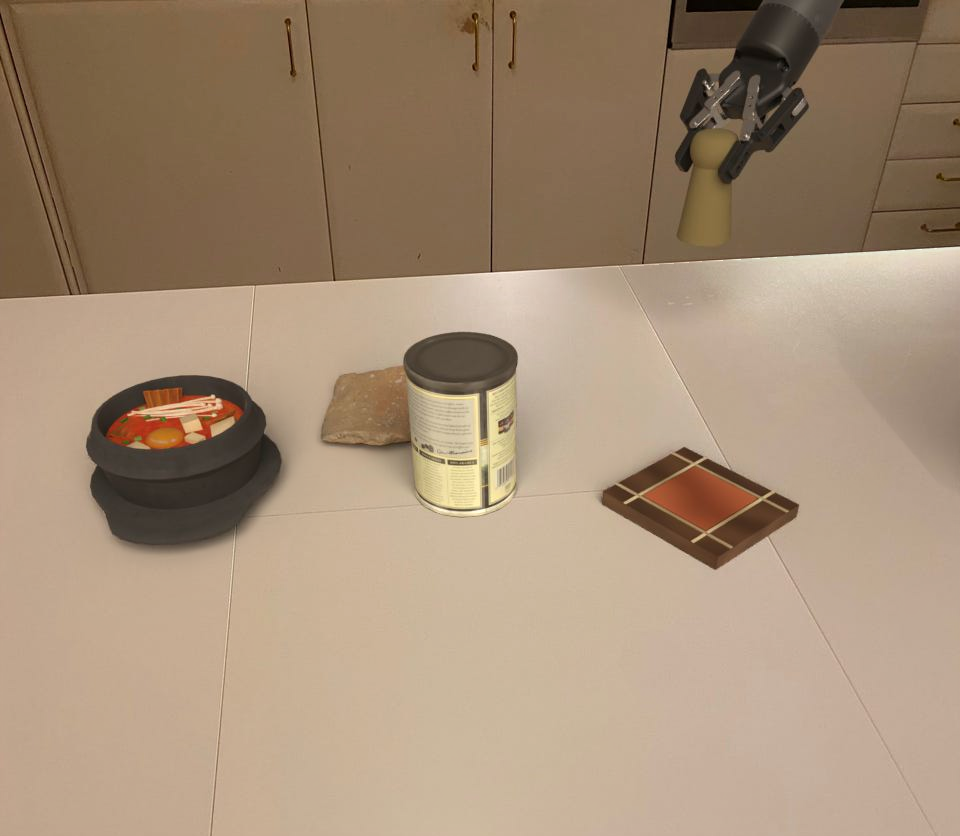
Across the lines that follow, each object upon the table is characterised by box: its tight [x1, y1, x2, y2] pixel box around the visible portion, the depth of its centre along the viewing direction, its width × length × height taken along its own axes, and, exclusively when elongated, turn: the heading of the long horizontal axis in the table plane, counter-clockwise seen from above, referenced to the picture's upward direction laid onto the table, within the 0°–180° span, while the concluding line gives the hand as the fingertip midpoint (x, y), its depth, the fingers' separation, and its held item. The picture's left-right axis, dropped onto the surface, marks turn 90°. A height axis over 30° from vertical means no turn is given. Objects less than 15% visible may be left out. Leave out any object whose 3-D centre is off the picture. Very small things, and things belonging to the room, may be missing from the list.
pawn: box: [676, 128, 740, 247], centre depth 108 cm, size 6×6×11 cm
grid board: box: [601, 446, 800, 571], centre depth 94 cm, size 12×14×2 cm
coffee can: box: [402, 331, 519, 518], centre depth 93 cm, size 10×10×14 cm
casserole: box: [85, 374, 283, 546], centre depth 96 cm, size 25×19×8 cm
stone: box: [320, 364, 411, 446], centre depth 107 cm, size 11×16×3 cm
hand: (701, 172), depth 106 cm, fingers closed on pawn, 5 cm apart
